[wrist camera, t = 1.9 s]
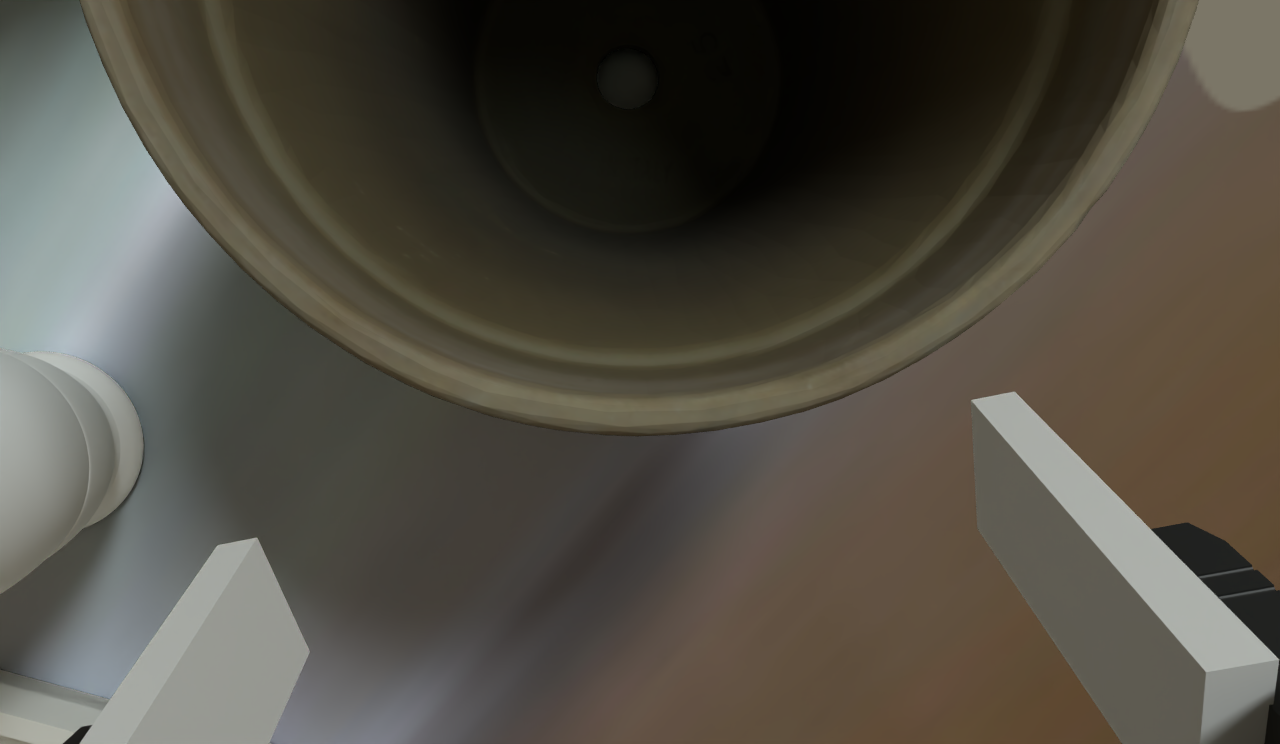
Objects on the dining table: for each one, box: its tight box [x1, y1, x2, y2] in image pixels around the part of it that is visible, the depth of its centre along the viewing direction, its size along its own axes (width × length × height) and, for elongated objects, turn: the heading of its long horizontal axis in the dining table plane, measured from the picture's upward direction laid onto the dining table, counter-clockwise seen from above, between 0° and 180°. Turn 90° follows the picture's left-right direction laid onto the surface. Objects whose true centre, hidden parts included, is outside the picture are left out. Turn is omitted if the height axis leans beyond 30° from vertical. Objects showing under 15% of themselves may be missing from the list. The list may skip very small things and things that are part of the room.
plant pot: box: [79, 0, 1199, 436], centre depth 29 cm, size 25×25×22 cm
